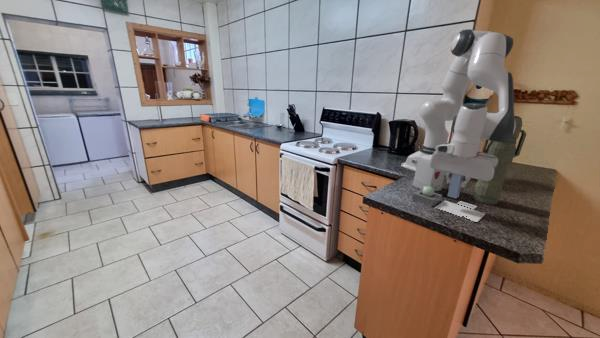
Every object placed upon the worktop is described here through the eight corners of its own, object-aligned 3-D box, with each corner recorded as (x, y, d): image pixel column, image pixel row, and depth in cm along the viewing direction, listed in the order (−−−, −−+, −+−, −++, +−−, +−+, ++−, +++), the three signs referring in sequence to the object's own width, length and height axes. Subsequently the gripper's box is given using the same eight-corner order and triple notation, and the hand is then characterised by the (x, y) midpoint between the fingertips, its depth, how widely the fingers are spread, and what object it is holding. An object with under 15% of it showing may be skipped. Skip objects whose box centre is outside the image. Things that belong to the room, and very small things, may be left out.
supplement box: (429, 193, 107) (436, 161, 103) (412, 186, 115) (417, 156, 110) (441, 190, 111) (449, 159, 107) (424, 183, 119) (430, 154, 114)
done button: (420, 195, 100) (421, 187, 99) (424, 193, 102) (426, 185, 101) (430, 198, 97) (431, 190, 96) (434, 196, 99) (436, 188, 98)
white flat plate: (434, 208, 94) (434, 207, 94) (444, 201, 100) (445, 200, 100) (476, 223, 84) (476, 222, 84) (485, 214, 90) (485, 213, 90)
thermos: (506, 207, 96) (538, 118, 85) (472, 202, 100) (498, 115, 88) (496, 198, 104) (524, 116, 93) (465, 193, 108) (488, 113, 96)
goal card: (456, 204, 98) (456, 203, 98) (460, 201, 100) (460, 200, 100) (473, 209, 94) (473, 208, 93) (476, 206, 96) (477, 206, 96)
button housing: (412, 199, 101) (413, 193, 100) (421, 195, 106) (422, 188, 105) (431, 207, 95) (433, 200, 94) (440, 201, 100) (441, 195, 99)
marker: (447, 196, 93) (452, 171, 90) (450, 194, 95) (455, 169, 92) (455, 198, 91) (461, 173, 88) (458, 196, 93) (464, 171, 90)
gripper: (502, 154, 82) (491, 191, 86) (438, 143, 96) (431, 176, 101) (497, 157, 78) (486, 196, 82) (431, 145, 93) (424, 179, 97)
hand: (455, 185), depth 91 cm, fingers closed on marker, 3 cm apart
